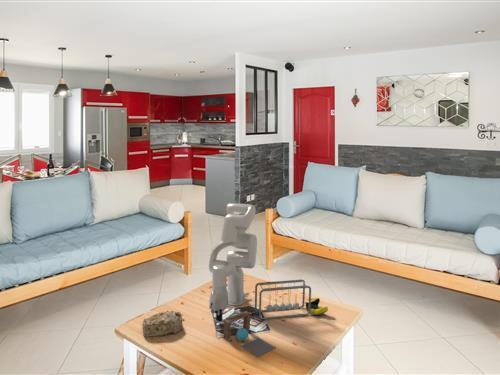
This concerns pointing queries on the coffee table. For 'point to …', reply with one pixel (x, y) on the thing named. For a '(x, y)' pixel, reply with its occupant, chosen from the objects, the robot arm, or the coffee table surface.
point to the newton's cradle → (282, 306)
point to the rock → (162, 323)
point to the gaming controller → (316, 307)
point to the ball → (242, 334)
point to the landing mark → (258, 347)
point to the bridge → (228, 321)
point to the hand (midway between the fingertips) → (219, 320)
